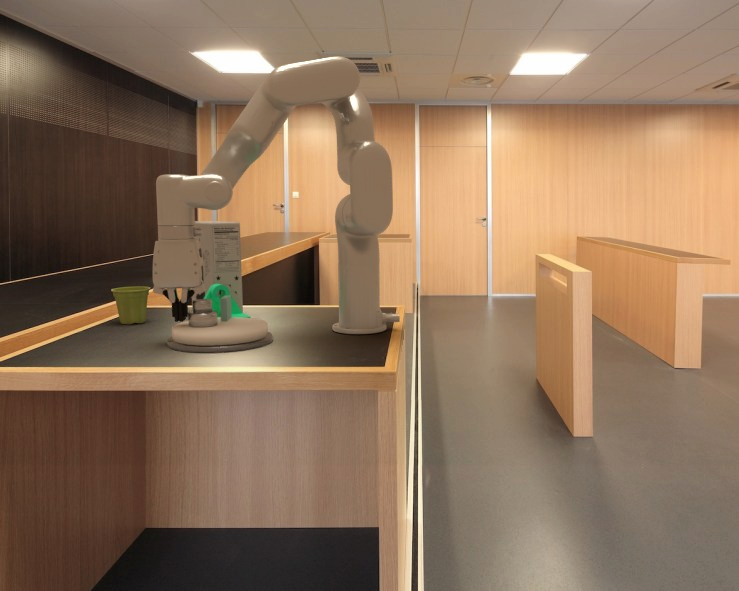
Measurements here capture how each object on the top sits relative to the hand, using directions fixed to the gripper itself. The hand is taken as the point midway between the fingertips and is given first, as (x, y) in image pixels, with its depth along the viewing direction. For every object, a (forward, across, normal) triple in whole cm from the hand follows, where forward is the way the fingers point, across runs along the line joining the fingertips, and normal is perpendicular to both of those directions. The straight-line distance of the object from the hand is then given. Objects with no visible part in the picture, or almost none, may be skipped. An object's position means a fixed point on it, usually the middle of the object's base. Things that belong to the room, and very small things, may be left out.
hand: (180, 320), depth 142 cm
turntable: (+3, -8, 0) cm, 9 cm away
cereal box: (+5, -1, -36) cm, 36 cm away
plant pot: (+5, +19, -26) cm, 33 cm away
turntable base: (+5, -8, 0) cm, 10 cm away
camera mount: (+5, -5, -19) cm, 20 cm away
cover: (+1, -5, 0) cm, 5 cm away
